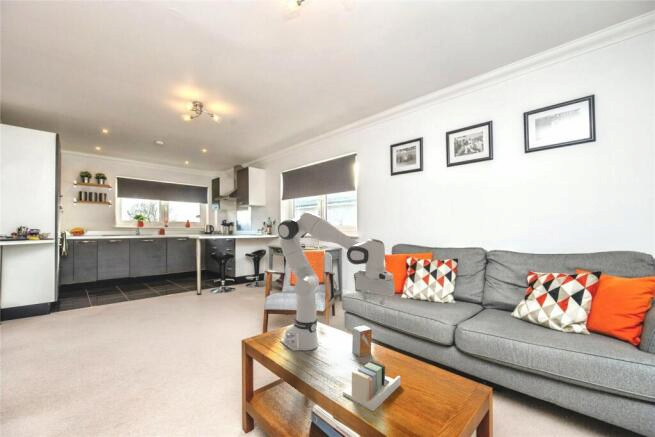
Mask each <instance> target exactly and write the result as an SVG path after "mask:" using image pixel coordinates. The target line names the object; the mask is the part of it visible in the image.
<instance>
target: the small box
mask: <svg viewBox="0 0 655 437" xmlns="http://www.w3.org/2000/svg"><path fill="white" fill-rule="evenodd" d="M372 331H373V330H372V328H371V327H369V326H366V325H359V326H355V327H352V343H351V344H352V347H351V348H352V349H351V353H352V354H355V356H357V357H359V358H360V357H363V356H367V355H370V354H371V353H372Z"/></svg>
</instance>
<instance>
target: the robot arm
mask: <svg viewBox="0 0 655 437" xmlns="http://www.w3.org/2000/svg"><path fill="white" fill-rule="evenodd" d="M277 234H278V236H279V237H280V238H281V239H280V248H281V251H282V254H283V257H284V258H285V260H286V263H287V265H288V268H289V270H290V271H291V273H293V275H294V276H295V278H296V279H297V280H296V282H295V283H294V287H293V288H294V289H293V291H294V295H295V301H296V317H295V318H294V319H293V322H294V323H293V325H291V326H290V327H289V328H287V329H286V330H285V334H284V336H283V337H281V338H280V342H281V343H282V344H284V345H285V346H287V347H288V348H289V349H290V350H291V351H295V352H296V351H311V350H315V349H317V347H318V346H319V342H318V341H319V339H318V334H317V333H318V332H317V330H318V329H317V326H318V319H317V302H316V301H317V299H316V290H317V289H318V288H319V286H320V285H319V284H320V278H319V276H318V275H317V274H316V272H315V270H314V269H313V267H312V266H311V264H310V262H309V260H308V258H307V256H306V254H305V251H304V250H303V247H302V244H301V242H300V240H301V239H303V238H304V237H305V236H306V235H307V234H308V235H311V236H312V237H313V238H315V239H317V240H319V241H321V242H325V243H333V244H337V245H340V246H341V247H342V248H344V249H346V250H347V252H346V258H347V261H348V262H349V263H350V264H353V265H362V264H363V265H365V270H358V271H357V272H356V276H355V283H354V287H355V289H356V290H359V291H360V293H361V296H362V300H363V301H367V300H368V296H367V295H366V292H368V293H372V294H375V295H380V296H381V298H382V299H380V300H379V305H382V306H384V305H385V301H386V300H387V298H388V297H393V296H394V295H395V294H396V291H395V289H396V286H395V281H394V277H395V275H394V273H391V272H389V271H387V270H386V269H385V260H386V258H385V257H386V249H385V248H386V247H385V243H384V242H383V241H382V240H380V239H377V238H376V239H375V238H368V239H367V240H365V241H363V242H362V243H361V242H359V241H357V240H355V239H353V238H351V237H350V236H349V235H347V234H345V233H343V232H342V231H341V230H339V229H338V228H337V227H336V226H334V225H333V224H332V223H331V222H329V221H328V220H327V219H325V218H323V217H322V216H320V215H319V214H316V213H314V212H312V211H304V212H303V213H302V214H300V216H295V217H291V218H289V219H285V220H283V221H282V222H280V223H279V224H278V226H277Z"/></svg>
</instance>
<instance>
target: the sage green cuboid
mask: <svg viewBox="0 0 655 437" xmlns="http://www.w3.org/2000/svg"><path fill="white" fill-rule="evenodd" d="M363 368H365V369H367V370H370V371H372V372H374V373H376V392H377V391H378V390H379V389H380V388H381V381H382V367H379V366H377V365H374V364H372V363H370V361H369V362H368V363H366V364H365V365H363Z"/></svg>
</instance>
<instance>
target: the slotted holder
mask: <svg viewBox="0 0 655 437" xmlns="http://www.w3.org/2000/svg"><path fill="white" fill-rule="evenodd" d="M369 362H370V363H372V364H374V365H377V366H379V367H382V381H381V388H380V389H379V390H378V391H377V392H376V373H374V372H372V371H370V370H367V369H365V368H364V366H363V367H362V366H360V367H359V368H358V369H357V370H356V369H354V370H353V371H352V372H351V385H349V386H347V387H346V388H345V389H344V390H342V395H343V396H344V397H347V398H348V399H350V400H352V401H354V402H355V403H357V404H359V405H361V406H363V407H364V408H366V409H369V410H370V411H372V412H374V411H375V410H376V409H378V407H380V405H382V403H384V402H385V401H386V400H387V398H389V397H390V396H391V395H392V394H393V393H394V392H395V391H396V390H397V389H398V388H399V387H400V386H401V376H400V375H397V376H395V378H392V377H390V376H388V375H387V376H386V365H383V364H381V363H378V362H375V361H373V360H369Z"/></svg>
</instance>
